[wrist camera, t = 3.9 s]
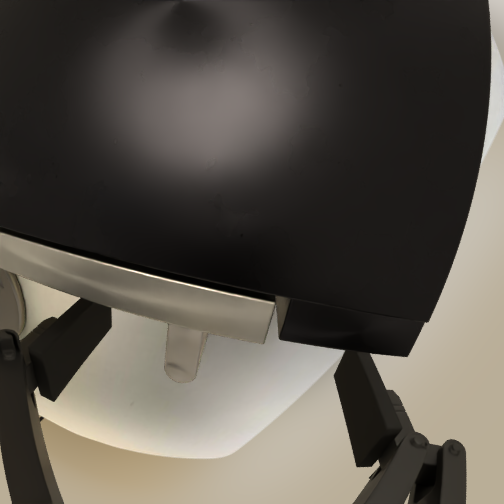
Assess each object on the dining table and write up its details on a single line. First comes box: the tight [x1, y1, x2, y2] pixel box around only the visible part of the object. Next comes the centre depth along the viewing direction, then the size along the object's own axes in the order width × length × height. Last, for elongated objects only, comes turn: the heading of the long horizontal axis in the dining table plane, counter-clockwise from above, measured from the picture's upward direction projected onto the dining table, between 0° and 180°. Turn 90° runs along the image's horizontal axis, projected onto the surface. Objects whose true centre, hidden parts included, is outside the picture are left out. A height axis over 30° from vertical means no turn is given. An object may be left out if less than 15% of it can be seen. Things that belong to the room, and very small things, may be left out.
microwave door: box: [0, 227, 276, 383], centre depth 18 cm, size 7×15×18 cm, turn 78°
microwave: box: [0, 0, 491, 357], centre depth 15 cm, size 18×20×18 cm
